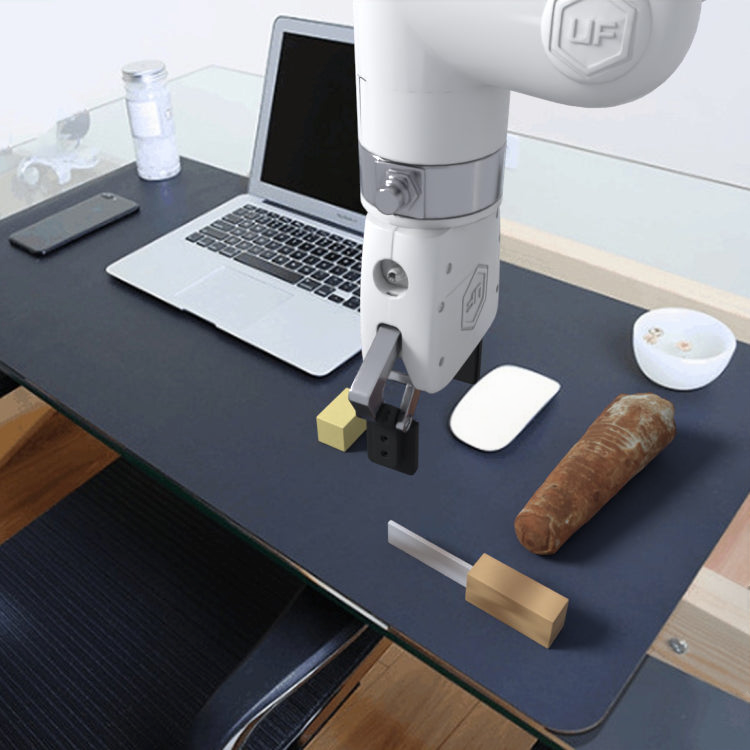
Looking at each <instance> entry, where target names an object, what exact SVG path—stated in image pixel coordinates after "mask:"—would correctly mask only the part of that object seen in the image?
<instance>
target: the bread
mask: <svg viewBox="0 0 750 750" xmlns="http://www.w3.org/2000/svg"><path fill="white" fill-rule="evenodd" d="M675 414H676V407H675V404H674V403H673V402H672V401H670V400H668V399H667V398H666V397H665V398H664V397H661V396H660V395H658V394H655V393H654V392H650V391H648V392H636V393H633V394H628V393H619V394H618V395H617V396H616V397H615V398H614V399H613V400H612V401H611V402H610V403H609V404H608V405H607V406H606V407H605V408H604V410H602V412H601V413H600V414H599V415H598V416H597V417H596V419H594V421H593V422H592V424H591V425H589V426H588V428H587V430H586V432H585V433H584V434H583V435H582V436H581V437H580V439H578V440H577V442H576V443H575V444H574V445H573V446H572V447H571V448H570V450H568V452H567V453H566V454H565V455H564V457H563V458H561V460H560V462H558V463H557V465H556V466H555V468H554V469H553V470H552V471H551V472H550V474H549V475H548V476H547V477H546V479H545V480H544V481H543V483H542V484H541V485H540V486H539V487H538V489H537V490H536V491H535V492H534V493H533V495H532V496H531V497H530V499H529V500H528V502H527V503H526V504H525V506H524V507H523V508H522V509H521V511H519V513H518V514H517V515H516V517H515V519H514V523H513V527H514V531H515V535H516V538H517V539H518V541H519V543H520V545H521V546H522V547H524V548H525V549H526V550H527V551H528V552H530V553H532V554H535V555H540V556H543V555H544V556H550V555H554V554H555V553H556V552H558V551H559V549H560V548H561V547H562V546H563V545H564V544H565V543H566V542H567V541H568V540H569V539H570V537H571V536H572V535H574V534H575V533H576V532H577V531H578V530H580V529H581V528H582V527H583V526H584V525H586V524H587V523H588V522H589V521H590V520H591V519H592V518H593V517H595V516H596V514H597V513H598V512H600V510H601V509H602V508H603V507H604V506H605V505H606V504H607V503H608V502H610V500H611V499H613V498H614V497H615V496H616V495H617V494H618V493H619V492H620V491H621V489H623V487H625V485H627V483H628V482H629V481H631V480H632V479H633V478H634V477H635V476H637V475H638V474H639V473H640V472H642V470H644V469H645V468H646V467H647V465H649V463H650V462H652V460H653V459H655V458H656V457H657V456H658V455H659V454H661V452H662V451H663V450H664V449H666V448H667V447H668V445H669V444H671V443H672V442H673V441H674V439H675V438H676V436H677V433H678V431H677V424H676V420H675Z"/></svg>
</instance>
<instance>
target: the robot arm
mask: <svg viewBox="0 0 750 750" xmlns="http://www.w3.org/2000/svg"><path fill="white" fill-rule="evenodd" d="M705 1H706V0H352V14H353V15H352V18H353V35H354V36H353V39H354V41H353V42H354V64H355V88H356V113H357V114H356V115H357V117H356V118H357V139H358V164H359V184H360V185H359V188H360V189H359V190H360V203H361V205H362V207H363V208H364V209H365V211H366V212H367V213H366V216H365V222H364V231H363V242H362V252H361V254H362V255H361V269H360V271H361V272H360V291H359V292H360V293H359V295H360V296H359V298H360V301H359V310H360V311H359V327H360V328H359V329H360V345H361V356H362V362H361V365H360V366H359V369H358V371H357V373H356V375H355V377H354V379H353V382H352V384H351V386H350V388H349V389H350V390H349V394H348V400H349V402H350V403H351V405H352V406H353V408H354V409H355V413H356V416H357V417H358V418H361V419H364V420H366V449H367V458H368V460H369V461H370V462H371V463H373V464H377V465H379V466H382V467H385V468H388V469H390V470H394V471H396V472H399V473H401V474H405V475H408V476H414V475H415V474H416V473H417V471H418V469H419V450H420V449H419V448H420V446H419V444H420V443H419V442H420V441H419V440H420V439H419V438H420V437H419V436H420V422H419V421H417V420H415V419H414V416H415V412H416V409H417V406H418V402H419V399H420V396H421V392H426V393H427V394H431V395H432V394H435V393H439V391H441V390H443V389H445V388H446V387H447V386H448V385H449V384H450V382H451V381H452V380H455V381H459V382H462V383H465V384H469V385H476V384H477V383H478V381H479V380H480V378H481V368H482V354H483V353H482V352H483V339H484V336H485V335H486V333H487V332H488V331H489V329H490V327H491V326H492V324H493V322H494V321H495V318H496V316H497V312H498V310H499V309H498V307H499V295H500V294H499V293H500V271H501V270H500V269H501V268H500V266H501V209H500V208H501V205H502V203H503V198H504V197H503V196H504V184H505V183H504V182H505V170H506V159H507V145H508V129H509V115H510V103H511V102H510V101H511V92H515V93H518V94H522V95H526V96H530V97H533V98H537V99H540V100H545V101H547V102H552V103H554V104H560V105H565V106H569V107H576V108H583V109H584V108H586V109H607V108H613V107H619V106H622V105H625V104H629V103H632V102H635V101H637V100H639V99H642V98H644V97H646V96H648V94H651V93H652V92H654V91H655V90H656V89H658V88H659V87H660V86H661V85H662V84H664V83H665V82H667V80H668V79H669V78H670V77H671V76H672V75H673V74H674V73H675V72H676V71H677V69H678V68H679V66H680V65H681V64H682V63H683V61H684V60H685V58H686V57H687V54H688V52H689V51H690V48H691V46H692V44H693V42H694V39H695V36H696V34H697V31H698V27H699V22H700V19H701V14H702V13H701V12H702V3H703V2H705ZM398 359H400V360H402V362H403V365H404V367H405V369H406V370H405V371H406V372H407V373H405V372H403V371H399V370H396V369H393V368H394V367H395V364H396V362H397V360H398ZM387 381H392V382H394V383H398V384H400V385H401V384H402V385H404V386H405V389H404V393H403V396H402V400H401V403H400V406H399V407H397V406H395V405H392V404H390V403H386V402H385V397H384V392H385V388H386V385H387Z"/></svg>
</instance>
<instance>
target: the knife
mask: <svg viewBox="0 0 750 750" xmlns="http://www.w3.org/2000/svg"><path fill="white" fill-rule="evenodd" d="M387 541H388V543H389V544H390V545H391V546H393V547H395V548H397V549H399V550H400V551H402V552H404V553H405V554H407V555H409V556H411V557H413V558H415V559H416V560H418V561H420V562H421V563H423V564H424V565H426V566H428V567H430V568H431V569H433V570H435V571H437V572H439V573H440V574H441V575H443V576H445V577H447V578H449V579H451V580H452V581H453V582H455V583H457V584H459V585H461V586H462V587H463V588H465V595H464V596H465V599H464V600H465V601H467V602H468V603H470V604H472V605H473V606H475V607H476V608H478V609H479V610H481V611H483V612H485V613H486V614H488V615H490V616H491V617H493V618H495V619H496V620H498V621H500V622H501V623H504V624H505V625H507V626H508V627H510V628H512V629H514V630H515V631H517V632H519V633H520V634H522V635H524V636H525V637H527V638H529V639H530V640H532V641H534V642H535V643H537V644H539V645H540V646H542V647H544V648H546V649H547V650H549V648H550V647H551V646H552V644H553V643H554V641H555V640H556V638H557V637H558V635H559V634H560V632H561V631H562V629H563V628H564V626H565V621H566V616H567V611H568V607H569V601H570V599H569V598H568V597H565V596H563V595H562V594H559V592H557V591H554V590H553V589H551V588H549V587H547V586H545V585H543V584H541V583H540V582H538V581H536V580H535V579H532V578H531V577H529V576H527V575H525V574H524V573H522V572H520V571H518V570H516V569H514V568H513V567H511V566H509V565H507V564H505V563H504V562H501V561H500V560H498V559H496V558H494V557H492V556H491V555H489V554H487V553H485V552H484V553H483V554H482V555H481V556H480V557H479V559H477V561H476V562H475V563H474V564H473V565H472V564H470V563H468V562H466V561H465V560H463V559H462V558H459V557H457V556H455V555H454V554H453V553H450V552H449V551H447V550H445V549H443V548H441V547H440V546H438V545H436V544H434V543H432V542H431V541H429V540H427V539H425V538H424V537H422V536H420V535H418V534H416V533H415V532H413V531H412V530H409V529H408V528H406V527H405V526H402V525H401V524H399V523H397V522H395V521H394V520H392V519H390V520H389V521H388V522H387Z"/></svg>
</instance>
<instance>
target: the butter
mask: <svg viewBox="0 0 750 750" xmlns="http://www.w3.org/2000/svg"><path fill="white" fill-rule="evenodd" d="M349 390H350V388H349V387H345V388H344V389H343V391H341V393H339V394H338V395H337V396H336V397H335V398H334V399H333V400H332V401H331V402H330V403H329V404H328V405H327V406H326V407H325V408H324V409H322V411H321V412H320V413H319V414H318V415H317V416H316V417H315V418H316V427H317V438H318V442H320V443H323V444H325V445H328V446H330V447H331V448H334V449H337V450H339V451H342V452H344V453H346V451H347V450H348V449H349V448H350V447H351V446H352V445H353V444H354V443H355V442H356V441H357V440H358V438H360V436H361V435H363V434H364V432H365V431H367V429H366V420H364V419H361V418H358V417H357V416H356V413H355V409H354V408H353V406H352V405H351V403H350V402H349V400H348V394H349Z"/></svg>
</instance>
